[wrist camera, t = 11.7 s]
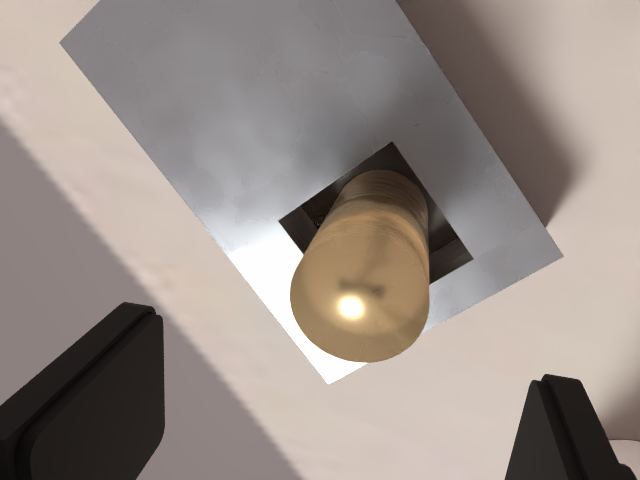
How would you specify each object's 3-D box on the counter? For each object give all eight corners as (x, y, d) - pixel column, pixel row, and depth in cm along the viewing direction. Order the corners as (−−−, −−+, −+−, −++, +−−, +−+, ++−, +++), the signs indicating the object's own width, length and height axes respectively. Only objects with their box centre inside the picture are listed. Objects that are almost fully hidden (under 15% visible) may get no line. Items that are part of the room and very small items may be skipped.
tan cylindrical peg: (339, 164, 22) (294, 225, 14) (435, 176, 21) (440, 246, 14) (330, 252, 23) (285, 350, 16) (420, 265, 22) (418, 373, 15)
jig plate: (105, 43, 22) (59, 42, 19) (299, -146, 18) (276, -181, 16) (339, 345, 24) (328, 384, 22) (545, 229, 21) (563, 256, 18)
